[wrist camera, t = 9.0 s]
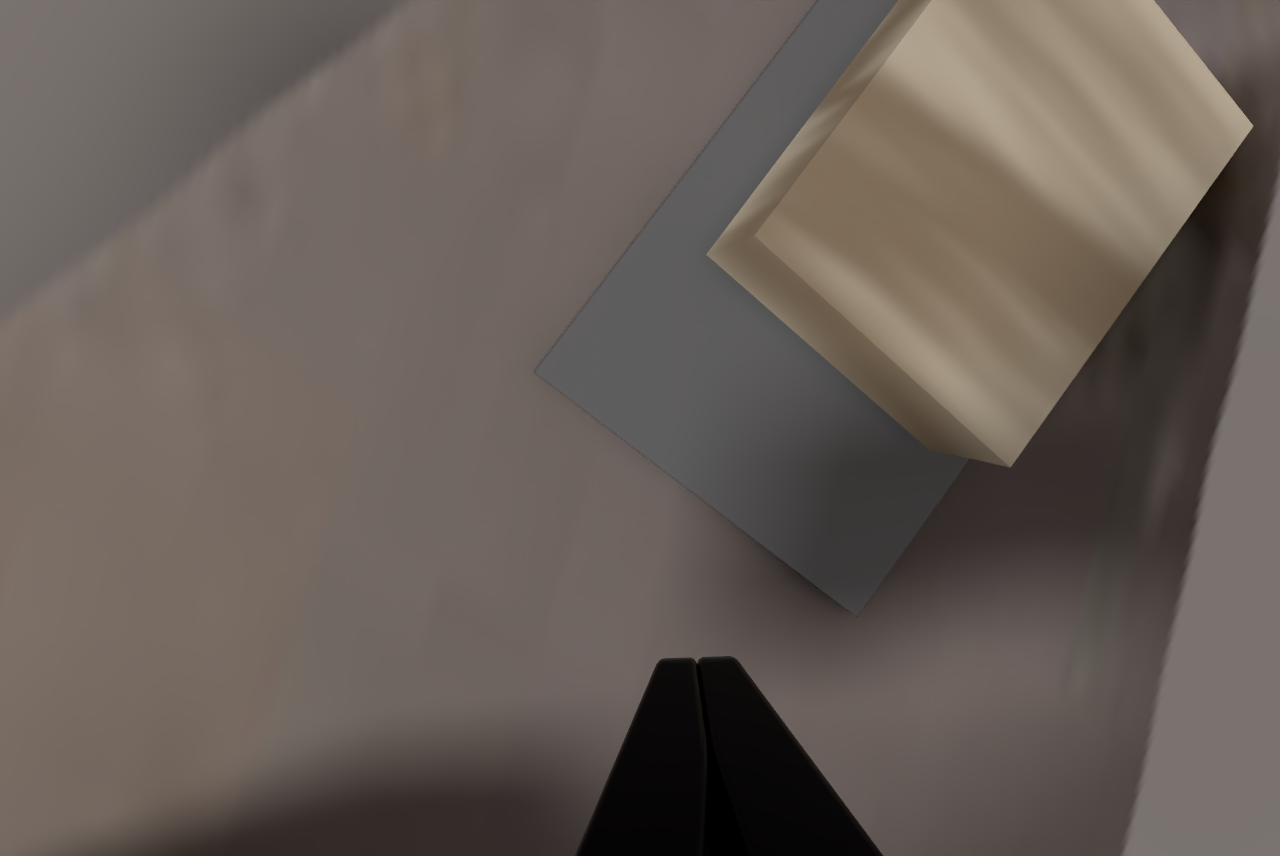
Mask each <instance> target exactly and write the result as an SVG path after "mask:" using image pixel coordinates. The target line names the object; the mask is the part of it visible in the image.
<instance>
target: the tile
mask: <svg viewBox="0 0 1280 856" xmlns="http://www.w3.org/2000/svg"><path fill="white" fill-rule="evenodd" d="M1252 127H1253V125H1252V123H1251V122H1250V121H1249V120H1248V118H1247V117H1246V116H1245V115H1244V113H1243V112H1242V111H1241V110H1240V108H1239V107H1238V106H1237V105H1236V103H1235V102H1234V101H1233V100H1232V98H1231V97H1230V96H1229V95H1228V93H1227V92H1226V91H1225V89H1224V88H1223V87H1222V86H1221V84H1220V83H1219V82H1218V81H1217V79H1216V78H1215V77H1214V76H1213V74H1212V73H1211V72H1210V71H1209V69H1208V68H1207V67H1206V66H1205V64H1204V63H1203V62H1202V60H1201V59H1200V58H1199V57H1198V55H1197V54H1196V53H1195V52H1194V50H1193V49H1192V48H1191V47H1190V45H1189V44H1188V43H1187V42H1186V40H1185V39H1184V38H1183V37H1182V35H1181V34H1180V33H1179V32H1178V30H1177V29H1176V28H1175V26H1174V25H1173V24H1172V23H1171V21H1170V20H1169V19H1168V18H1167V16H1166V15H1165V14H1164V13H1163V11H1162V10H1161V9H1160V8H1159V6H1158V5H1157V4H1156V3H1155V1H1154V0H898V1H897V3H896V4H895V5H894V7H893V8H892V9H891V11H890V12H889V13H888V15H887V16H886V17H885V19H884V20H883V21H882V22H881V24H880V25H879V26H878V28H877V29H876V30H875V32H874V33H873V34H872V36H871V37H870V38H869V40H868V41H867V42H866V44H865V45H864V46H863V48H862V49H861V50H860V52H859V53H858V54H857V56H856V57H855V58H854V60H853V61H852V62H851V64H850V65H849V66H848V67H847V69H846V70H845V71H844V73H843V74H842V75H841V77H840V78H839V79H838V81H837V82H836V83H835V85H834V86H833V87H832V89H831V90H830V91H829V93H828V94H827V95H826V97H825V98H824V99H823V101H822V102H821V103H820V105H819V106H818V107H817V109H816V110H815V111H814V113H813V114H812V115H811V116H810V118H809V119H808V120H807V122H806V123H805V124H804V126H803V127H802V128H801V130H800V131H799V132H798V134H797V135H796V136H795V138H794V139H793V140H792V142H791V143H790V144H789V146H788V147H787V148H786V150H785V151H784V152H783V154H782V155H781V156H780V158H779V159H778V160H777V161H776V163H775V164H774V165H773V167H772V168H771V169H770V171H769V172H768V173H767V175H766V176H765V177H764V179H763V180H762V181H761V183H760V184H759V185H758V187H757V188H756V189H755V191H754V192H753V193H752V195H751V196H750V197H749V199H748V200H747V201H746V203H745V204H744V205H743V206H742V208H741V209H740V210H739V212H738V213H737V214H736V216H735V217H734V218H733V220H732V221H731V222H730V224H729V225H728V226H727V228H726V229H725V230H724V232H723V233H722V234H721V236H720V237H719V238H718V240H717V241H716V242H715V244H714V245H713V246H712V248H711V249H710V250H709V252H708V253H707V254H706V255H707V256H708V257H709V258H711V259H712V260H713V261H714V262H715V263H716V264H717V265H719V266H720V267H721V268H722V269H723V270H724V271H725V272H727V273H728V274H729V275H730V276H731V277H732V278H733V279H735V280H736V281H737V282H738V283H739V284H740V285H741V286H743V287H744V288H745V289H746V290H747V291H748V292H749V293H751V294H752V295H753V296H754V297H755V298H756V299H757V300H759V301H760V302H761V303H762V304H763V305H764V306H765V307H767V308H768V309H769V310H770V311H771V312H772V313H773V314H775V315H776V316H777V317H778V318H779V319H780V320H781V321H782V322H784V323H785V324H786V325H787V326H788V327H789V328H790V329H792V330H793V331H794V332H795V333H796V334H797V335H798V336H800V337H801V338H802V339H803V340H804V341H805V342H806V343H808V344H809V345H810V346H811V347H812V348H813V349H814V350H816V351H817V352H818V353H819V354H820V355H821V356H822V357H824V358H825V359H826V360H827V361H828V362H829V363H830V364H832V365H833V366H834V367H835V368H836V369H837V370H838V371H840V372H841V373H842V374H843V375H844V376H845V377H846V378H848V379H849V380H850V381H851V382H852V383H853V384H854V385H855V386H857V387H858V388H859V389H860V390H861V391H862V392H863V393H865V394H866V395H867V396H868V397H869V398H870V399H871V400H873V401H874V402H875V403H876V404H877V405H878V406H879V407H881V408H882V409H883V410H884V411H885V412H886V413H887V414H889V415H890V416H891V417H892V418H893V419H894V420H895V421H897V422H898V423H899V424H900V425H901V426H902V427H903V428H905V429H906V430H907V431H908V432H909V433H910V434H911V435H913V436H914V437H915V438H916V439H917V440H918V441H919V442H921V443H922V444H923V445H924V446H925V447H926V448H927V449H928V450H933V451H937V452H942V453H946V454H951V455H955V456H960V457H964V458H969V459H974V460H978V461H983V462H987V463H992V464H996V465H1001V466H1005V467H1010V468H1011V466H1012V465H1013V463H1014V462H1015V461H1016V459H1017V458H1018V456H1019V455H1020V454H1021V452H1022V451H1023V449H1024V448H1025V447H1026V445H1027V444H1028V442H1029V441H1030V440H1031V438H1032V437H1033V435H1034V434H1035V432H1036V431H1037V430H1038V428H1039V427H1040V425H1041V424H1042V423H1043V421H1044V420H1045V418H1046V417H1047V416H1048V414H1049V413H1050V411H1051V410H1052V409H1053V407H1054V406H1055V404H1056V403H1057V402H1058V400H1059V399H1060V397H1061V396H1062V395H1063V393H1064V392H1065V390H1066V389H1067V387H1068V386H1069V385H1070V383H1071V382H1072V380H1073V379H1074V378H1075V376H1076V375H1077V373H1078V372H1079V371H1080V369H1081V368H1082V366H1083V365H1084V364H1085V362H1086V361H1087V359H1088V358H1089V357H1090V355H1091V354H1092V352H1093V351H1094V350H1095V348H1096V347H1097V345H1098V344H1099V342H1100V341H1101V340H1102V338H1103V337H1104V335H1105V334H1106V333H1107V331H1108V330H1109V328H1110V327H1111V326H1112V324H1113V323H1114V321H1115V320H1116V319H1117V317H1118V316H1119V314H1120V313H1121V312H1122V310H1123V309H1124V307H1125V306H1126V305H1127V303H1128V302H1129V300H1130V299H1131V297H1132V296H1133V295H1134V293H1135V292H1136V290H1137V289H1138V288H1139V286H1140V285H1141V283H1142V282H1143V281H1144V279H1145V278H1146V276H1147V275H1148V274H1149V272H1150V271H1151V269H1152V268H1153V267H1154V265H1155V264H1156V262H1157V261H1158V260H1159V258H1160V257H1161V255H1162V254H1163V252H1164V251H1165V250H1166V248H1167V247H1168V245H1169V244H1170V243H1171V241H1172V240H1173V238H1174V237H1175V236H1176V234H1177V233H1178V231H1179V230H1180V229H1181V227H1182V226H1183V224H1184V223H1185V222H1186V220H1187V219H1188V217H1189V216H1190V215H1191V213H1192V212H1193V210H1194V209H1195V208H1196V206H1197V205H1198V203H1199V202H1200V200H1201V199H1202V198H1203V196H1204V195H1205V193H1206V192H1207V191H1208V189H1209V188H1210V186H1211V185H1212V184H1213V182H1214V181H1215V179H1216V178H1217V177H1218V175H1219V174H1220V172H1221V171H1222V170H1223V168H1224V167H1225V165H1226V164H1227V163H1228V161H1229V160H1230V158H1231V157H1232V155H1233V154H1234V153H1235V151H1236V150H1237V148H1238V147H1239V146H1240V144H1241V143H1242V141H1243V140H1244V139H1245V137H1246V136H1247V134H1248V133H1249V132H1250V130H1251V129H1252Z"/></svg>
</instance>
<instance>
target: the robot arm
mask: <svg viewBox="0 0 1280 856" xmlns="http://www.w3.org/2000/svg"><path fill="white" fill-rule="evenodd" d="M575 856H883V855H882V853H881V852H880V851H879V849H878V848H877V847H876V845H875V844H874V843H873V841H872V840H871V839H870V837H869V836H868V835H867V833H866V832H865V831H864V829H863V828H862V827H861V825H860V824H859V823H858V821H857V820H856V819H855V817H854V816H853V815H852V813H851V812H850V811H849V809H848V808H847V806H846V805H845V804H844V802H843V801H842V800H841V798H840V797H839V796H838V794H837V793H836V792H835V790H834V789H833V788H832V786H831V785H830V784H829V782H828V781H827V780H826V778H825V777H824V776H823V774H822V773H821V772H820V770H819V769H818V768H817V766H816V765H815V764H814V762H813V761H812V759H811V758H810V757H809V755H808V754H807V753H806V751H805V750H804V749H803V747H802V746H801V745H800V743H799V742H798V741H797V739H796V738H795V737H794V735H793V734H792V733H791V731H790V730H789V729H788V727H787V726H786V725H785V723H784V722H783V721H782V719H781V718H780V717H779V715H778V714H777V712H776V711H775V710H774V708H773V707H772V706H771V704H770V703H769V702H768V700H767V699H766V698H765V696H764V695H763V694H762V692H761V691H760V690H759V688H758V687H757V686H756V684H755V683H754V682H753V680H752V679H751V678H750V676H749V675H748V674H747V672H746V671H745V670H744V668H743V667H742V665H741V664H740V663H739V662H738V661H737V659H735V658H733V657H731V656H723V657H702V658H701V659H699V661H698V662H697V663H696V661H695V660H694V659H693V658H665V659H661V660H660V661H659V662H658V663H657V664H656V667H655V669H654V671H653V674H652V676H651V678H650V681H649V683H648V685H647V688H646V690H645V692H644V695H643V697H642V699H641V702H640V704H639V706H638V709H637V711H636V714H635V716H634V718H633V721H632V723H631V725H630V728H629V730H628V732H627V735H626V737H625V739H624V742H623V744H622V746H621V749H620V751H619V754H618V756H617V758H616V761H615V763H614V765H613V768H612V770H611V772H610V775H609V777H608V779H607V782H606V784H605V786H604V789H603V791H602V793H601V796H600V798H599V801H598V803H597V805H596V808H595V810H594V812H593V815H592V817H591V819H590V822H589V824H588V826H587V829H586V831H585V833H584V836H583V838H582V840H581V843H580V845H579V848H578V850H577V852H576V855H575Z"/></svg>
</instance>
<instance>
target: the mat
mask: <svg viewBox="0 0 1280 856" xmlns="http://www.w3.org/2000/svg"><path fill="white" fill-rule="evenodd" d="M897 1H898V0H817V1H816V2H815V4H814V5H813V6H812V8H811V9H810V10H809V12H808V13H807V14H806V16H805V17H804V18H803V19H802V21H801V22H800V23H799V25H798V26H797V27H796V29H795V30H794V31H793V33H792V34H791V35H790V36H789V38H788V39H787V40H786V42H785V43H784V44H783V46H782V47H781V48H780V50H779V51H778V52H777V53H776V55H775V56H774V57H773V59H772V60H771V61H770V63H769V64H768V65H767V67H766V68H765V69H764V71H763V72H762V73H761V74H760V76H759V77H758V78H757V80H756V81H755V82H754V84H753V85H752V86H751V88H750V89H749V90H748V91H747V93H746V94H745V95H744V97H743V98H742V99H741V101H740V102H739V103H738V105H737V106H736V107H735V109H734V110H733V111H732V112H731V114H730V115H729V116H728V118H727V119H726V120H725V122H724V123H723V124H722V126H721V127H720V128H719V129H718V131H717V132H716V133H715V135H714V136H713V137H712V139H711V140H710V141H709V143H708V144H707V145H706V146H705V148H704V149H703V150H702V152H701V153H700V154H699V156H698V157H697V158H696V160H695V161H694V162H693V164H692V165H691V166H690V167H689V169H688V170H687V171H686V173H685V174H684V175H683V177H682V178H681V179H680V181H679V182H678V183H677V184H676V186H675V187H674V188H673V190H672V191H671V192H670V194H669V195H668V196H667V198H666V199H665V200H664V202H663V203H662V204H661V205H660V207H659V208H658V209H657V211H656V212H655V213H654V215H653V216H652V217H651V219H650V220H649V221H648V222H647V224H646V225H645V226H644V228H643V229H642V230H641V232H640V233H639V234H638V236H637V237H636V238H635V239H634V241H633V242H632V243H631V245H630V246H629V247H628V249H627V250H626V251H625V253H624V254H623V255H622V257H621V258H620V259H619V260H618V262H617V263H616V264H615V266H614V267H613V268H612V270H611V271H610V272H609V274H608V275H607V276H606V277H605V279H604V280H603V281H602V283H601V284H600V285H599V287H598V288H597V289H596V291H595V292H594V293H593V294H592V296H591V297H590V298H589V300H588V301H587V302H586V304H585V305H584V306H583V308H582V309H581V310H580V312H579V313H578V314H577V315H576V317H575V318H574V319H573V321H572V322H571V323H570V325H569V326H568V327H567V329H566V330H565V331H564V332H563V334H562V335H561V336H560V338H559V339H558V340H557V342H556V343H555V344H554V346H553V347H552V348H551V350H550V351H549V352H548V353H547V355H546V356H545V357H544V359H543V360H542V361H541V363H540V364H539V365H538V367H537V368H536V369H535V370H534V373H536V374H537V375H538V376H540V377H541V378H542V379H544V380H545V381H546V382H548V383H549V384H550V385H552V386H553V387H554V388H555V389H557V390H558V391H559V392H561V393H562V394H563V395H565V396H566V397H567V398H569V399H570V400H571V401H573V402H574V403H575V404H577V405H578V406H579V407H580V408H582V409H583V410H584V411H586V412H587V413H588V414H590V415H591V416H592V417H594V418H595V419H596V420H598V421H599V422H600V423H601V424H603V425H604V426H605V427H607V428H608V429H609V430H611V431H612V432H613V433H615V434H616V435H617V436H619V437H620V438H621V439H623V440H624V441H625V442H626V443H628V444H629V445H630V446H632V447H633V448H634V449H636V450H637V451H638V452H640V453H641V454H642V455H644V456H645V457H646V458H648V459H649V460H650V461H651V462H653V463H654V464H655V465H657V466H658V467H659V468H661V469H662V470H663V471H665V472H666V473H667V474H669V475H670V476H671V477H673V478H674V479H675V480H676V481H678V482H679V483H680V484H682V485H683V486H684V487H686V488H687V489H688V490H690V491H691V492H692V493H694V494H695V495H696V496H697V497H699V498H700V499H701V500H703V501H704V502H705V503H707V504H708V505H709V506H711V507H712V508H713V509H715V510H716V511H717V512H719V513H720V514H721V515H722V516H724V517H725V518H726V519H728V520H729V521H730V522H732V523H733V524H734V525H736V526H737V527H738V528H740V529H741V530H742V531H744V532H745V533H746V534H747V535H749V536H750V537H751V538H753V539H754V540H755V541H757V542H758V543H759V544H761V545H762V546H763V547H765V548H766V549H767V550H769V551H770V552H771V553H772V554H774V555H775V556H776V557H778V558H779V559H780V560H782V561H783V562H784V563H786V564H787V565H788V566H790V567H791V568H792V569H793V570H795V571H796V572H797V573H799V574H800V575H801V576H803V577H804V578H805V579H807V580H808V581H809V582H811V583H812V584H813V585H815V586H816V587H817V588H818V589H820V590H821V591H822V592H824V593H825V594H826V595H828V596H829V597H830V598H832V599H833V600H834V601H836V602H837V603H838V604H840V605H841V606H842V607H843V608H845V609H846V610H847V611H849V612H850V613H852V614H853V615H854V616H856V617H857V616H858V615H859V614H860V612H861V611H862V609H863V608H864V607H865V605H866V604H867V602H868V601H869V600H870V598H871V597H872V595H873V594H874V593H875V591H876V590H877V588H878V587H879V586H880V584H881V583H882V581H883V580H884V579H885V577H886V576H887V574H888V573H889V572H890V570H891V569H892V567H893V566H894V565H895V563H896V562H897V560H898V559H899V558H900V556H901V555H902V553H903V552H904V551H905V549H906V548H907V546H908V545H909V544H910V542H911V541H912V539H913V538H914V537H915V535H916V534H917V532H918V531H919V530H920V528H921V527H922V525H923V524H924V523H925V521H926V520H927V519H928V517H929V516H930V514H931V513H932V512H933V510H934V509H935V507H936V506H937V505H938V503H939V502H940V500H941V499H942V498H943V496H944V495H945V493H946V492H947V491H948V489H949V488H950V486H951V485H952V484H953V482H954V481H955V479H956V478H957V477H958V475H959V474H960V472H961V471H962V470H963V468H964V467H965V465H966V464H967V463H968V461H969V460H970V459H969V458H964V457H960V456H955V455H951V454H946V453H942V452H937V451H933V450H928V449H927V448H926V447H925V446H924V445H923V444H922V443H921V442H919V441H918V440H917V439H916V438H915V437H914V436H913V435H911V434H910V433H909V432H908V431H907V430H906V429H905V428H903V427H902V426H901V425H900V424H899V423H898V422H897V421H895V420H894V419H893V418H892V417H891V416H890V415H889V414H887V413H886V412H885V411H884V410H883V409H882V408H881V407H879V406H878V405H877V404H876V403H875V402H874V401H873V400H871V399H870V398H869V397H868V396H867V395H866V394H865V393H863V392H862V391H861V390H860V389H859V388H858V387H857V386H855V385H854V384H853V383H852V382H851V381H850V380H849V379H848V378H846V377H845V376H844V375H843V374H842V373H841V372H840V371H838V370H837V369H836V368H835V367H834V366H833V365H832V364H830V363H829V362H828V361H827V360H826V359H825V358H824V357H822V356H821V355H820V354H819V353H818V352H817V351H816V350H814V349H813V348H812V347H811V346H810V345H809V344H808V343H806V342H805V341H804V340H803V339H802V338H801V337H800V336H798V335H797V334H796V333H795V332H794V331H793V330H792V329H790V328H789V327H788V326H787V325H786V324H785V323H784V322H782V321H781V320H780V319H779V318H778V317H777V316H776V315H775V314H773V313H772V312H771V311H770V310H769V309H768V308H767V307H765V306H764V305H763V304H762V303H761V302H760V301H759V300H757V299H756V298H755V297H754V296H753V295H752V294H751V293H749V292H748V291H747V290H746V289H745V288H744V287H743V286H741V285H740V284H739V283H738V282H737V281H736V280H735V279H733V278H732V277H731V276H730V275H729V274H728V273H727V272H725V271H724V270H723V269H722V268H721V267H720V266H719V265H717V264H716V263H715V262H714V261H713V260H712V259H711V258H709V257H708V256H707V255H706V254H707V253H708V252H709V250H710V249H711V248H712V246H713V245H714V244H715V242H716V241H717V240H718V238H719V237H720V236H721V234H722V233H723V232H724V230H725V229H726V228H727V226H728V225H729V224H730V222H731V221H732V220H733V218H734V217H735V216H736V214H737V213H738V212H739V210H740V209H741V208H742V206H743V205H744V204H745V203H746V201H747V200H748V199H749V197H750V196H751V195H752V193H753V192H754V191H755V189H756V188H757V187H758V185H759V184H760V183H761V181H762V180H763V179H764V177H765V176H766V175H767V173H768V172H769V171H770V169H771V168H772V167H773V165H774V164H775V163H776V161H777V160H778V159H779V158H780V156H781V155H782V154H783V152H784V151H785V150H786V148H787V147H788V146H789V144H790V143H791V142H792V140H793V139H794V138H795V136H796V135H797V134H798V132H799V131H800V130H801V128H802V127H803V126H804V124H805V123H806V122H807V120H808V119H809V118H810V116H811V115H812V114H813V113H814V111H815V110H816V109H817V107H818V106H819V105H820V103H821V102H822V101H823V99H824V98H825V97H826V95H827V94H828V93H829V91H830V90H831V89H832V87H833V86H834V85H835V83H836V82H837V81H838V79H839V78H840V77H841V75H842V74H843V73H844V71H845V70H846V69H847V67H848V66H849V65H850V64H851V62H852V61H853V60H854V58H855V57H856V56H857V54H858V53H859V52H860V50H861V49H862V48H863V46H864V45H865V44H866V42H867V41H868V40H869V38H870V37H871V36H872V34H873V33H874V32H875V30H876V29H877V28H878V26H879V25H880V24H881V22H882V21H883V20H884V19H885V17H886V16H887V15H888V13H889V12H890V11H891V9H892V8H893V7H894V5H895V4H896V3H897Z"/></svg>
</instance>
